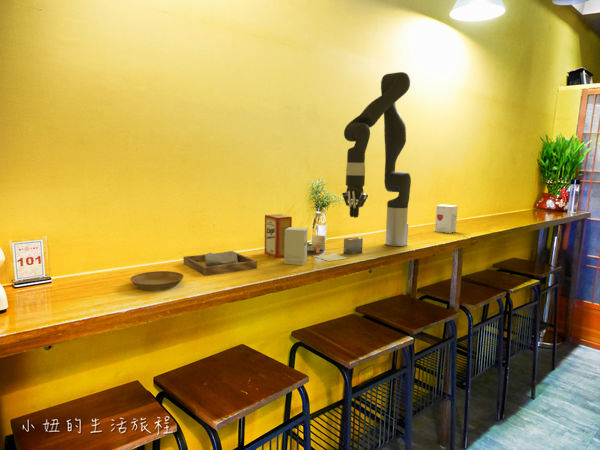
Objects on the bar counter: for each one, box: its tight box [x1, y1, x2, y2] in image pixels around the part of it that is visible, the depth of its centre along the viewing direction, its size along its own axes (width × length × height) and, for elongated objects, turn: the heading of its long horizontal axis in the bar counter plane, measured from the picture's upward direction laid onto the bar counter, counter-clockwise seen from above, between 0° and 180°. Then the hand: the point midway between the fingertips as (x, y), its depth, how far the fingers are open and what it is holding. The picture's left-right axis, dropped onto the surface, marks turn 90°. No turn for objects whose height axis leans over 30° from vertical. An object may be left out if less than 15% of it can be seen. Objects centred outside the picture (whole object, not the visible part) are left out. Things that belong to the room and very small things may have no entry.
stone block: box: [203, 250, 239, 267], centre depth 149 cm, size 12×5×10 cm
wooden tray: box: [182, 251, 258, 276], centre depth 146 cm, size 19×19×2 cm
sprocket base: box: [307, 250, 325, 255], centre depth 174 cm, size 13×13×1 cm
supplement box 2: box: [434, 203, 459, 234], centre depth 234 cm, size 9×9×15 cm
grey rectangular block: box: [342, 236, 364, 256], centre depth 172 cm, size 9×4×6 cm, turn 125°
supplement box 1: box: [283, 226, 309, 266], centre depth 153 cm, size 7×7×13 cm
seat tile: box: [312, 252, 349, 262], centre depth 163 cm, size 10×10×1 cm
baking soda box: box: [264, 213, 293, 259], centre depth 165 cm, size 10×6×16 cm
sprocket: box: [307, 234, 326, 253], centre depth 174 cm, size 14×14×6 cm
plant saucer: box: [129, 270, 184, 291], centre depth 122 cm, size 15×15×3 cm
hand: (353, 216), depth 171 cm, fingers closed
